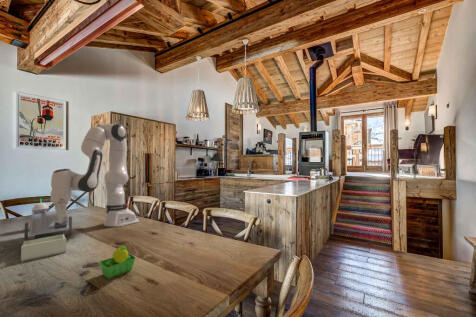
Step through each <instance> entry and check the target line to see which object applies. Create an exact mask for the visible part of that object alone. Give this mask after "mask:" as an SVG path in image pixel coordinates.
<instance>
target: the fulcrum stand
mask: <svg viewBox="0 0 476 317" xmlns="http://www.w3.org/2000/svg"><path fill="white" fill-rule="evenodd" d="M29 223H30V222H29V221H26V222H24V234H23V236H24V241H29ZM68 225H69V230H67V232H68V233H67V235H68V236H69V237H70V236H72V235H73V234H72V230H73V229H72V228H73V216H71V215H70V216H68ZM63 234H64V230H63V231H57V232H51V233H45V234H39V235H34V239H40V238H46V237H52V236H57V235H63ZM24 241H23V242H24Z"/></svg>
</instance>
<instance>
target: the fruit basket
mask: <svg viewBox="0 0 476 317" xmlns="http://www.w3.org/2000/svg"><path fill="white" fill-rule="evenodd" d="M135 260H136V257H135V256H134V255H132V254H131V253H129V251H128V249H127V247H126V246H125V245H121V246H119V247H118V248H117V249H116V250H115V251H114V252H113V253H112V257H111V258H110V257H109V258H107V259H105V260H100V261H99V262H98V263H99V265H100V267H101V272H102V274H103V275H104V277H106V278H107V279H111V278H113V277H116V276H118V275H122V274H124V273H126V272H130V271H132V269H133V266H134V263H135Z"/></svg>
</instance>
